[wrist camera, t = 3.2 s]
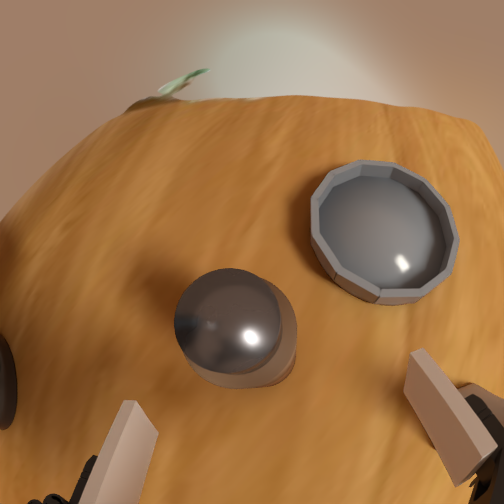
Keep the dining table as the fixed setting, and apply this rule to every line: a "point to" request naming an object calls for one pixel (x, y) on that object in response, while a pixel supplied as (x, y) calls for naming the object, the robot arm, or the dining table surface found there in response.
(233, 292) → the pepper mill
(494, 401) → the flask
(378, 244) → the round grey tray
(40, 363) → the dining table surface
